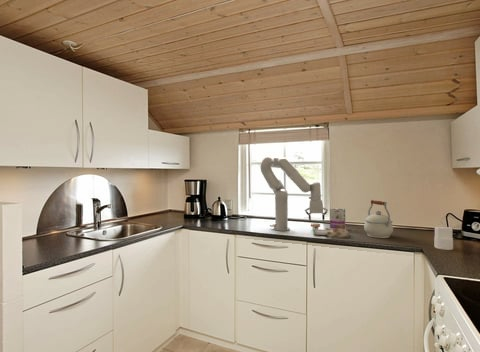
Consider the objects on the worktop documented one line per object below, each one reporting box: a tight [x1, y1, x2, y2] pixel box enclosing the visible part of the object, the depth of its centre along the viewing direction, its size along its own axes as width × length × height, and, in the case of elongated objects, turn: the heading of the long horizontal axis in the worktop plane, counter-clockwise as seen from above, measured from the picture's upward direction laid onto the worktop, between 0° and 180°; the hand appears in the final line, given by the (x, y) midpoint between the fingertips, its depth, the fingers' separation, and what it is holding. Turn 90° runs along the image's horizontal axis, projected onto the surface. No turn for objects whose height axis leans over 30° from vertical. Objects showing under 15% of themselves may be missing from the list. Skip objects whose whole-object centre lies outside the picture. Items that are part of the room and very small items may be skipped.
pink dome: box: [310, 222, 321, 228], centre depth 215 cm, size 7×7×2 cm
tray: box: [312, 226, 333, 236], centre depth 202 cm, size 14×14×4 cm
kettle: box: [363, 199, 394, 239], centre depth 199 cm, size 25×18×25 cm
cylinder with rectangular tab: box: [433, 226, 454, 251], centre depth 166 cm, size 9×9×12 cm
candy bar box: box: [329, 207, 346, 229], centre depth 224 cm, size 11×5×16 cm, turn 62°
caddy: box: [325, 227, 350, 239], centre depth 200 cm, size 14×14×4 cm
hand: (316, 220), depth 215 cm, fingers open, 9 cm apart
